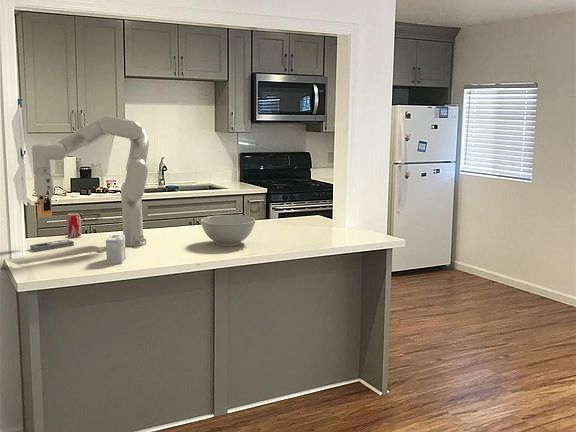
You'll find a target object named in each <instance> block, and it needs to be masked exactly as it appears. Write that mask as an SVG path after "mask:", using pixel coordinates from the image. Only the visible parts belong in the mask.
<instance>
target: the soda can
mask: <svg viewBox="0 0 576 432" xmlns="http://www.w3.org/2000/svg"><path fill="white" fill-rule="evenodd" d="M66 215H67V216H66V218H65V219H66V235H67V237H68V238H70V237H73V238H75V239H77V238H80V237H81V236H82V219H81V216H80V213H78V212H70V213H67V214H66Z"/></svg>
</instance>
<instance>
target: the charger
mask: <svg viewBox="0 0 576 432" xmlns="http://www.w3.org/2000/svg"><path fill="white" fill-rule="evenodd" d="M33 203H34V206H36V209H37V217H39V218H48V217H53V207H52V206H53V205H52V201H51V202H50V203H51V210H50V211H44V204H43V203H44V199H38V198H37V199H36V201H35V202H33Z"/></svg>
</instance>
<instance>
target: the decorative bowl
mask: <svg viewBox="0 0 576 432" xmlns="http://www.w3.org/2000/svg"><path fill="white" fill-rule="evenodd" d="M255 224H256V219H255V217H252V216H249V215H248V216H247V215H240V214H219V215H211V216H206V217H203V218H201V219H200V225H201V227H202V229H203V232H204V233H205V234H206V236H207V237H208V238H209V239H210V240H212V241H213V242H215V245H217V246H221V247H235V246H239V245H241V243H242V241H244V240H246V239H247V238H248V237H249V235H250V234H251V233H252V231H253V229H254V227H255Z"/></svg>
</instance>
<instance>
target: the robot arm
mask: <svg viewBox="0 0 576 432" xmlns="http://www.w3.org/2000/svg"><path fill="white" fill-rule="evenodd" d="M107 135H112V136H115V137H121V138H126V139H129V141H130V148H129V154H128V157H127V158H128V159H127V162H126V166H125V170H126V175H125V181H124V182H123V183H122V185H121V188H120V197H121V210H122V211H121V215H122V217H121V218H122V235H125V247H137V246H143V245H146V244H147V239H146V238H145V237H144V236H145V235H144V229H143V228H144V227H143V226H144V225H143V223H144V222H143V221H144V220H143V200H142V198H143V196H144V193H145V189H146V183H147V178H148V173H149V172H148V171H149V168H148V165H147V160H148V153H149V145H150V143H149V137H148V135H147V133H146V131H145V129H144V128H143V127H142V125H141V123H140V122H138V121H136V120H130V119H125V118H121V117H117V116H113V115H110V114H104V115H102V116H100V117H98V118H96V119H95V120H93V121H91V122H90V123H88V124H86V125H84V126H82V127H80V128H79V129H77V130H75V131H74V132H73V133H71V134H69V135H67V136H66V137H64V138H62V139H60V140H58V141H56V142H55V143H52V144H40V143H39V144H33V145H32V146H31V155H32V168H33V169H32V170H33V171H32V172H33V175H34V178H33V180H34V181H33V183H34V184H33V185H34V193H35V195H36V198H37V199H44V203H43V204H44V211H50V210H51V205H52V198H53V196H54V194H55V191H54V190H55V189H54V181H53V176H52V168H51V160H52V161H62V160H64V159H65V158H66V157H67V156H68V155H70V154H71V153H73V152H75V151H77V150H79V149H81V148H83V147H84V148H85V147H87V146H89V145H92V144H93V143H95V142H97V141H99V140H100V139H103V138H104V137H106V136H107ZM50 202H51V203H50Z"/></svg>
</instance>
